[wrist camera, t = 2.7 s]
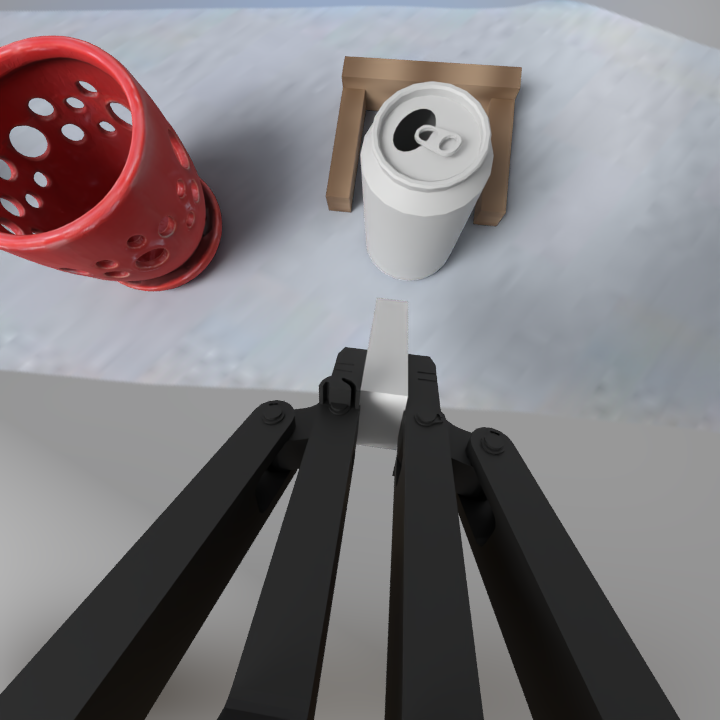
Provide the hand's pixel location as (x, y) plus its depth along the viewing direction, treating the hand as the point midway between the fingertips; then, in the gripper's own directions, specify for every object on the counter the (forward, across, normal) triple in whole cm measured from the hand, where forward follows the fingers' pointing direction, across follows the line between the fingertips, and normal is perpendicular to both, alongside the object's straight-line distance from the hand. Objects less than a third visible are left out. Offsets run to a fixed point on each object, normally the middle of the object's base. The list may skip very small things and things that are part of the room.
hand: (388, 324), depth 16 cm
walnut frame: (+21, +1, +6) cm, 22 cm away
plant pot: (+14, -21, -2) cm, 25 cm away
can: (+15, +1, -1) cm, 15 cm away
